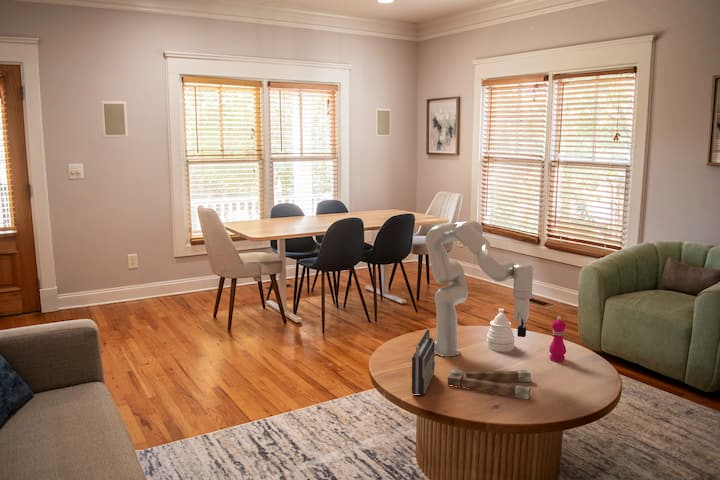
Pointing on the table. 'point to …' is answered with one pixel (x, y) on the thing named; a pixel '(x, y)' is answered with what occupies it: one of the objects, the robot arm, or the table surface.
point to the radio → (423, 364)
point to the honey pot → (500, 334)
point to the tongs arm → (500, 375)
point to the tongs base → (488, 385)
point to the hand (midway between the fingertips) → (521, 336)
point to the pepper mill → (558, 341)
